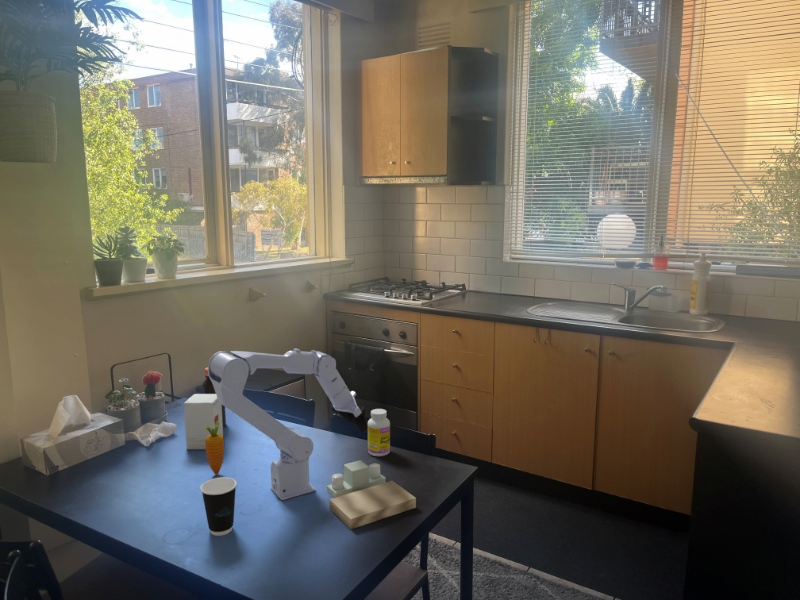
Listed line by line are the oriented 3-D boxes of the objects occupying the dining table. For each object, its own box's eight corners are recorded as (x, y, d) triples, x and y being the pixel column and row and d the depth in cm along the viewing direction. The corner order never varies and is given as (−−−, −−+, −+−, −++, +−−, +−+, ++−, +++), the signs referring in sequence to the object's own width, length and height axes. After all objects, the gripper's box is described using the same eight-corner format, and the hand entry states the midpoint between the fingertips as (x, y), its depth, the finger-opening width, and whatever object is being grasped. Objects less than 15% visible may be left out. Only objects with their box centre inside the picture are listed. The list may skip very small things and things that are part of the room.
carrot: (208, 480, 161) (205, 427, 158) (205, 472, 165) (202, 421, 163) (227, 476, 163) (224, 424, 161) (224, 469, 167) (221, 418, 165)
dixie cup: (224, 542, 131) (221, 496, 129) (195, 535, 134) (192, 489, 132) (246, 524, 138) (244, 480, 137) (218, 518, 141) (215, 474, 139)
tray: (335, 498, 151) (334, 476, 150) (326, 490, 155) (326, 469, 154) (385, 483, 158) (385, 462, 157) (376, 476, 162) (376, 455, 161)
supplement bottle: (380, 459, 173) (380, 417, 171) (363, 453, 177) (362, 412, 175) (394, 451, 179) (394, 410, 176) (377, 446, 182) (377, 406, 180)
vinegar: (201, 428, 197) (197, 370, 194) (211, 421, 204) (207, 364, 201) (220, 429, 196) (217, 371, 193) (229, 422, 203) (226, 365, 200)
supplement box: (215, 450, 180) (212, 402, 178) (185, 450, 180) (182, 402, 178) (224, 438, 189) (221, 393, 187) (196, 438, 189) (193, 393, 187)
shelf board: (350, 529, 136) (350, 519, 136) (329, 508, 145) (329, 499, 145) (415, 507, 146) (415, 498, 145) (392, 489, 155) (392, 480, 154)
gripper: (360, 388, 155) (381, 424, 161) (334, 372, 167) (355, 406, 173) (339, 405, 152) (362, 441, 159) (315, 387, 164) (337, 422, 170)
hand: (357, 424), depth 166 cm, fingers open, 7 cm apart
